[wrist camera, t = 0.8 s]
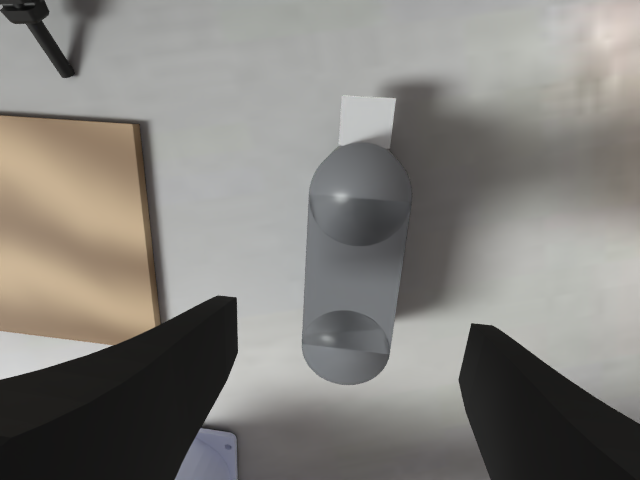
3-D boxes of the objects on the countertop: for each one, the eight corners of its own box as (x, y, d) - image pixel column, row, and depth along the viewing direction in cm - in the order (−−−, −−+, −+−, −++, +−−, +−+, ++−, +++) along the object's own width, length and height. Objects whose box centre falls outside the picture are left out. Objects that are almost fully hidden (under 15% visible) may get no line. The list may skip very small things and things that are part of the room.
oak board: (162, 345, 23) (157, 350, 23) (-27, 321, 25) (-37, 326, 24) (139, 124, 19) (132, 124, 18) (-93, 109, 20) (-106, 108, 19)
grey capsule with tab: (379, 330, 21) (384, 389, 16) (313, 322, 22) (300, 379, 17) (409, 102, 17) (427, 96, 12) (327, 98, 17) (313, 90, 13)
